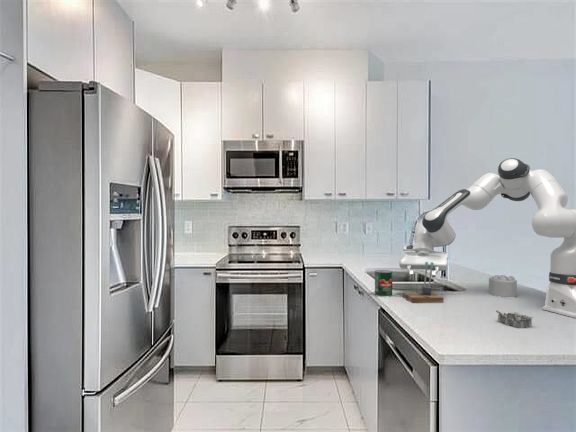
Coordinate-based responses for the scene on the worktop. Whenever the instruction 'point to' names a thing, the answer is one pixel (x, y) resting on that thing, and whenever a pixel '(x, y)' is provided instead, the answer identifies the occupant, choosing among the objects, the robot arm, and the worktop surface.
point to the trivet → (422, 297)
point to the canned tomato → (383, 283)
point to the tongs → (428, 289)
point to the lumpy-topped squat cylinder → (503, 286)
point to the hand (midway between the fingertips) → (422, 275)
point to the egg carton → (515, 319)
